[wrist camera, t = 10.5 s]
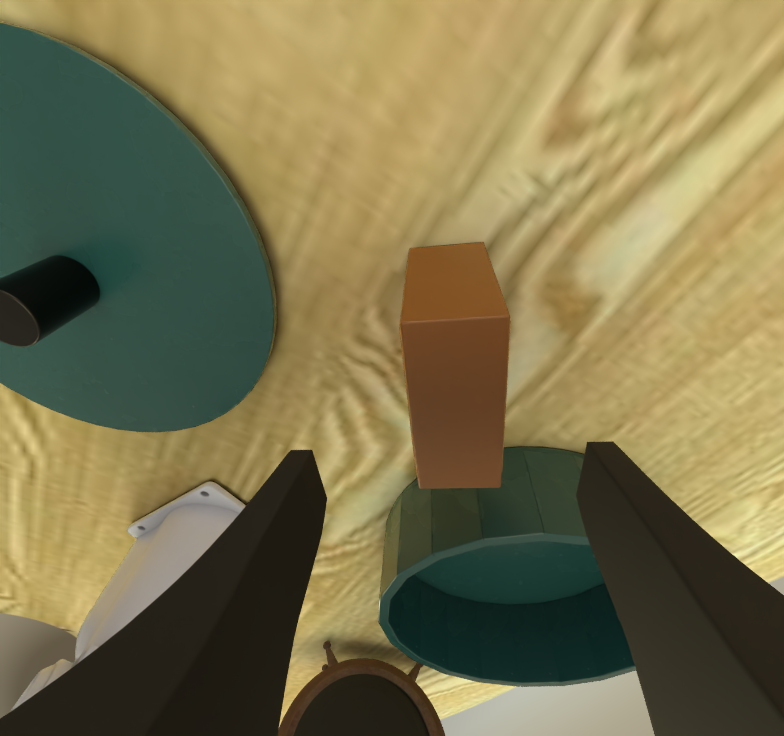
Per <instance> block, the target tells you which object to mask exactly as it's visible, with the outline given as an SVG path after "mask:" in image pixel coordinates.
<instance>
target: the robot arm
mask: <svg viewBox="0 0 784 736" xmlns="http://www.w3.org/2000/svg"><path fill="white" fill-rule="evenodd" d="M576 497H577V501H578V505H579V509H580V513H581V517H582V521H583V524H584V528H585V532H586V535H587V538H588V540H589V543H590V546H591V548H592V551H593V553H594V556H595V559H596V561H597V564H598V566H599V569H600V571H601V574H602V576H603V579H604V581H605V584H606V587H607V589H608V592H609V594H610V597H611V599H612V602H613V604H614V607H615V609H616V612H617V614H618V617H619V620H620V622H621V625H622V627H623V630H624V633H625V636H626V639H627V641H628V644H629V647H630V650H631V654H632V657H633V661H634V664H635V667H636V671H637V674H638V677H639V681H640V684H641V688H642V691H643V695H644V698H645V702H646V705H647V709H648V713H649V716H650V720H651V723H652V727H653V730H654V734H655V736H784V595H783V594H781V593H780V592H779V591H777V590H776V589H775V588H774V587H772V586H771V585H770V584H768V583H767V582H766V581H765V580H763V579H762V578H761V577H759V576H758V575H757V574H756V573H754V572H753V571H752V570H750V569H749V568H748V567H747V566H746V565H744V564H743V563H742V562H741V561H739V560H738V559H737V558H736V557H735V556H733V555H732V554H731V553H730V552H729V551H728V550H726V549H725V548H724V547H723V546H722V545H721V544H720V543H718V542H717V541H716V540H715V539H714V538H713V537H711V536H710V535H709V534H708V533H707V532H706V531H705V530H704V529H702V528H701V527H700V526H699V525H698V524H697V523H696V522H695V521H694V520H692V519H691V518H690V517H689V516H688V515H687V514H686V513H685V512H684V511H683V510H682V509H681V508H680V507H679V506H678V505H676V504H675V503H674V502H673V501H672V500H671V499H670V498H669V497H668V496H667V495H666V494H665V493H664V492H663V491H662V490H661V489H660V488H659V487H658V486H657V485H656V484H655V483H654V482H653V481H652V480H651V479H650V478H649V477H648V476H647V475H646V474H645V473H644V472H643V471H642V470H641V469H640V468H639V467H638V466H637V465H636V464H635V463H634V462H633V461H632V460H631V459H630V458H629V457H628V456H627V455H626V454H625V453H624V452H623V451H622V450H621V449H620V448H619V447H618V446H617V445H616V444H615V443H614V442H587V446H586V450H585V455H584V460H583V465H582V470H581V474H580V479H579V484H578V489H577V493H576ZM326 502H327V497H326V493H325V490H324V487H323V484H322V480H321V477H320V474H319V471H318V467H317V464H316V461H315V458H314V455H313V451H312V450H291V451H290V452H289V453H288V454H287V455H286V457H285V458H284V459H283V460H282V462H281V463H280V464H279V465H278V467H277V468H276V469H275V471H274V472H273V473H272V474H271V476H270V477H269V478H268V479H267V481H266V482H265V483H264V484H263V486H262V487H261V488H260V489H259V491H258V492H257V493H256V494H255V496H254V497H253V498H252V499H251V500H250V502H249V503H248V504H247V505H245V504H243V503H242V502H241V501H239V500H238V499H237V498H235V497H234V496H233V495H231V494H230V493H229V492H227V491H226V490H225V489H223V488H222V487H220V486H219V485H218V484H216V483H215V482H206V483H204V484H202V485H200V486H199V487H197V488H195V489H193V490H191V491H190V492H188V493H186V494H184V495H182V496H181V497H179V498H177V499H175V500H173V501H172V502H170V503H168V504H166V505H164V506H163V507H161V508H159V509H157V510H155V511H154V512H152V513H150V514H148V515H146V516H145V517H143V518H141V519H139V520H137V521H136V522H134V523H132V524H130V525H129V527H128V528H127V532H128V533H129V534H130V535H132V536H133V537H135V538H137V539H136V541H135V542H134V544H133V545H132V547H131V549H130V550H129V552H128V553H127V555H126V556H125V558H124V559H123V561H122V562H121V564H120V565H119V567H118V569H117V570H116V572H115V573H114V575H113V576H112V578H111V579H110V581H109V582H108V584H107V586H106V587H105V589H104V590H103V592H102V593H101V595H100V596H99V598H98V599H97V601H96V602H95V604H94V606H93V607H92V609H91V610H90V612H89V613H88V615H87V616H86V618H85V620H84V622H83V624H82V626H81V628H80V631H79V634H78V637H77V642H76V652H75V657H76V660H75V661H74V662H73V663H72V662H69V661H67V660H64V659H61V660H59V661H58V662H57V663H56V664H55V665H51V666H49V667H47V668H45V669H43V670H41V671H40V672H39V673H38V674H37V675H36V677H35V678H34V679H33V680H32V682H31V683H30V684H29V686H28V687H27V689H26V690H25V691H24V693H23V694H22V696H21V697H20V698H19V700H18V701H17V703H16V704H15V705H14V707H13V708H12V710H11V711H10V712H9V713H8V714H7V715H5V716H3V717H2V718H1V719H0V736H277V735H278V729H279V722H280V716H281V710H282V704H283V698H284V692H285V686H286V679H287V674H288V668H289V663H290V658H291V652H292V647H293V641H294V636H295V632H296V628H297V623H298V619H299V615H300V612H301V608H302V604H303V601H304V597H305V594H306V590H307V586H308V583H309V579H310V576H311V572H312V568H313V565H314V561H315V557H316V554H317V550H318V546H319V543H320V539H321V535H322V529H323V523H324V517H325V509H326Z"/></svg>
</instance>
